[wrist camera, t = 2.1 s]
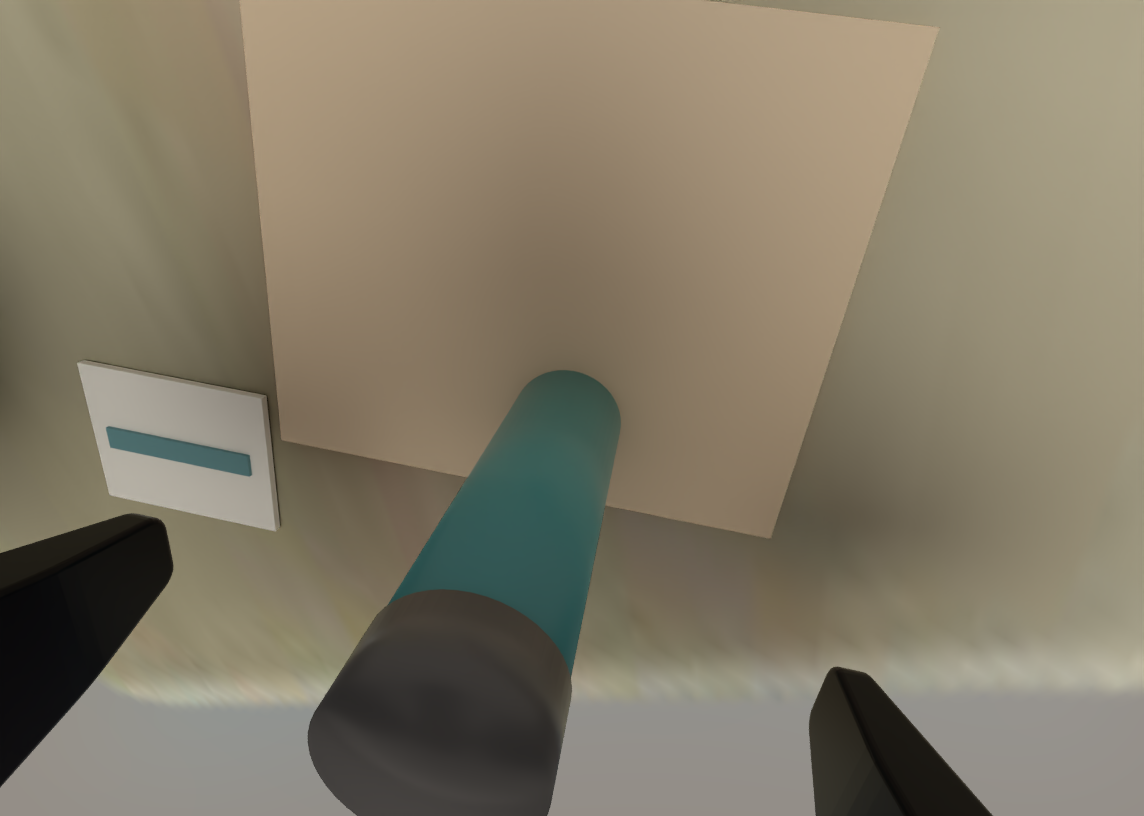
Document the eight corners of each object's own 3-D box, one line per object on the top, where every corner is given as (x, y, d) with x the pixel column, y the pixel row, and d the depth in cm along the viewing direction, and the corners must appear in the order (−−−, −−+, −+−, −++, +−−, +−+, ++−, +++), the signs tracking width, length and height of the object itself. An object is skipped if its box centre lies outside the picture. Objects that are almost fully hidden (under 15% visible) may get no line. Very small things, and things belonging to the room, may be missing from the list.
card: (115, 491, 17) (106, 497, 17) (83, 360, 15) (73, 364, 15) (280, 526, 16) (273, 533, 16) (266, 395, 15) (258, 400, 14)
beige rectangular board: (288, 434, 15) (281, 440, 15) (245, -50, 11) (234, -54, 11) (768, 531, 14) (770, 539, 14) (932, 30, 10) (939, 27, 9)
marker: (508, 458, 14) (314, 818, 7) (517, 358, 13) (300, 652, 5) (613, 479, 14) (537, 876, 6) (632, 379, 13) (566, 716, 5)
